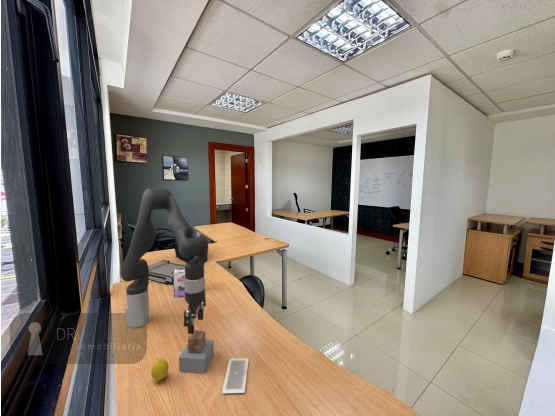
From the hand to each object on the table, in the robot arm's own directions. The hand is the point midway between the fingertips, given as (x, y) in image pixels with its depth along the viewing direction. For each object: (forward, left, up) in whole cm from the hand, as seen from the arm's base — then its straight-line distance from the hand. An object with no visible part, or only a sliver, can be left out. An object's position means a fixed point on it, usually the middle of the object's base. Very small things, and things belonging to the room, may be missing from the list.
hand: (196, 326), depth 88 cm
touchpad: (+18, -5, -17) cm, 25 cm away
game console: (-57, +76, -16) cm, 97 cm away
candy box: (-31, +52, -16) cm, 63 cm away
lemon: (-10, -9, -16) cm, 21 cm away
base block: (0, 0, -16) cm, 16 cm away
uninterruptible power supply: (-57, +115, -16) cm, 129 cm away
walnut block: (0, 0, -10) cm, 10 cm away
